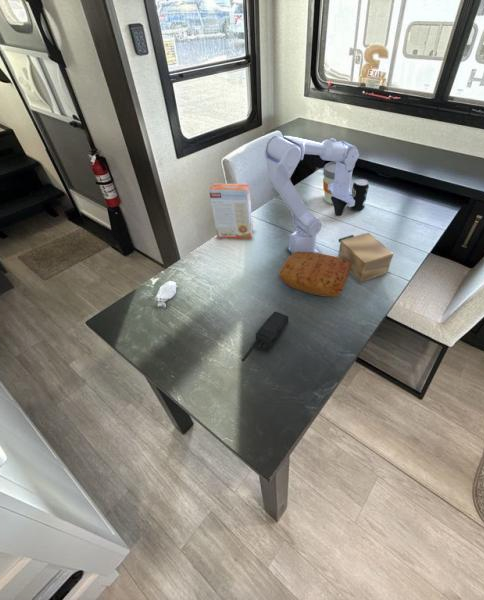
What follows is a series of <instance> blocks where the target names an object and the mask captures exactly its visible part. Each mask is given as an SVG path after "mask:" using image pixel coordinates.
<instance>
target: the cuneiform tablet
mask: <svg viewBox="0 0 484 600" xmlns="http://www.w3.org/2000/svg"><path fill="white" fill-rule="evenodd" d="M350 267H351V263H350V262H348V261H346V260H344V259H342V258H339V256H338V257H337V256H334V255H330V254H325V253H320V252H319V253H313V252H295V253H293V254H292V253H291V254H290V255H289V257H288V258H287V259H286V261H285V262H284V263H283V265H282V266H281V268H280V271H279V276H278V277H279V278H280V280H281V281H282V282H283V283H284V284H285V285H287V286H289V287H290V288H292V289H295V290H298V291H301V292H304V293H306V294H307V293H308V294H311V295H315V296H320V297H321V296H324V297H329V298H334V297H335V298H336V297H338V296H340V295H341V294H342V292H343V289H344V287H345V285H346V283H347V280H348V277H349V275H350V272H349V271H350Z"/></svg>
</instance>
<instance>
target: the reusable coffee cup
mask: <svg viewBox="0 0 484 600" xmlns="http://www.w3.org/2000/svg"><path fill="white" fill-rule="evenodd" d="M335 168H336V162H334V161H329V162H328V163H325V165H324V167H323V172H322V174H323V175H322V176H323V178H322V186H323V187H322V188H323V192H324V193H323V194H324V201H325V202H326V203H328V204H331V205H333V203H332V200H331V197H332V196H333V195H332V193H331V190H328V184H332V183H333V184H334V178H335Z"/></svg>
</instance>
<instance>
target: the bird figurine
mask: <svg viewBox="0 0 484 600" xmlns="http://www.w3.org/2000/svg"><path fill="white" fill-rule="evenodd" d="M178 287H180V285H177V282H176V281H174V280H168V281H166V282H164V283H163V284H162V285H161V286H160V287H159V289H158V291H157V293H156V295H155V297H154V301H155V302H158V303H157V305H156V306H157V308H159V307H165V308H167V305H166V302H168V300H170V299H172V298H173V297H174V296H175V295H176V294H177V289H178Z"/></svg>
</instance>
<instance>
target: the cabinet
mask: <svg viewBox="0 0 484 600" xmlns="http://www.w3.org/2000/svg"><path fill="white" fill-rule="evenodd" d="M364 233H365V232H364ZM364 233H361V234H362V235H361V234H358V235H359V236H358V235H355V236H356V237H352V238H349V239H346V240H343V241H341V246H340V245H339V248H340V253H339V252H338V254H339V256H338V258H342V259H344V260H346V261H348V262H350V263H351V267H350V271H349V274H351V275H352V276H353V277H354V279H356V280H357V281H358V282H359V283H362V282H365V281H368V280H371V279H373V278H377V277H380V276H382V275H384V274H388V272H389V269H390V266H391V263H392V259H393V257H394V252H393V251H391V250H390V249H389V248H388V247H387V246H385V244H383V243H382V242H381V241H379V240H378V239H377V238H376V237H375V236H374V235H373V234H372V233H370V232H366V233H365V234H364Z"/></svg>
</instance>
